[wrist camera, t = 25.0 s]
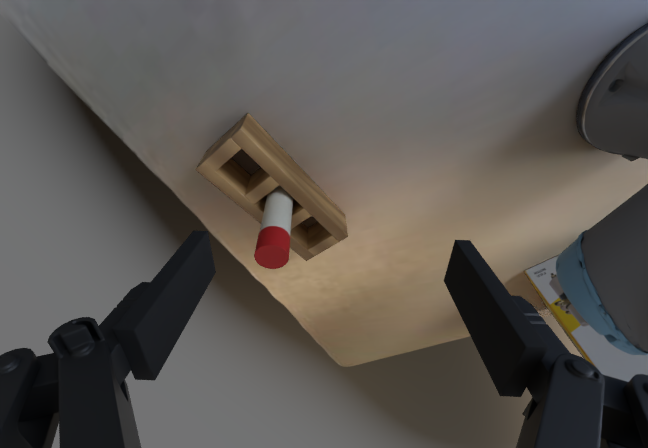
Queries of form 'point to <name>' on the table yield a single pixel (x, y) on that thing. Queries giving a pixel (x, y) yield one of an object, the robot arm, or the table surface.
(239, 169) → the pen holder
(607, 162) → the table surface
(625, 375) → the packaging box
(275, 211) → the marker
